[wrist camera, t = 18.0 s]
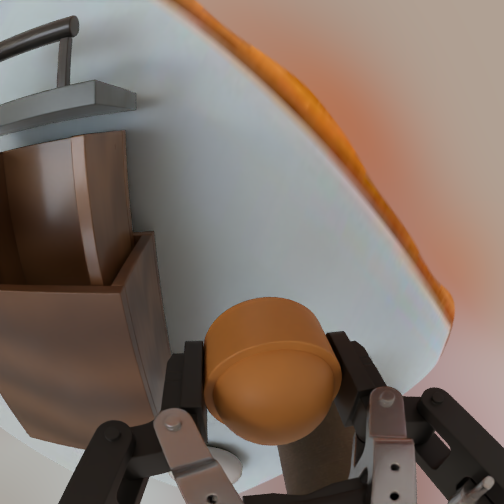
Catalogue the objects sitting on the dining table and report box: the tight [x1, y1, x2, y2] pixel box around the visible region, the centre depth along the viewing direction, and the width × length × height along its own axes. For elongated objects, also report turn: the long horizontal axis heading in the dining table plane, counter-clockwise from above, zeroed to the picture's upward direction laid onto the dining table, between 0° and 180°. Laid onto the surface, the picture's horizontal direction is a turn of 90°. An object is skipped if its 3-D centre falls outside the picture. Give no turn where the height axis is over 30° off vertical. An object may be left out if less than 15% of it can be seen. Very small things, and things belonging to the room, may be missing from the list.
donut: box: [168, 446, 242, 484], centre depth 33 cm, size 10×4×10 cm
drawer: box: [0, 16, 136, 286], centre depth 16 cm, size 19×12×7 cm, turn 179°
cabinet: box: [0, 231, 172, 450], centre depth 21 cm, size 16×14×9 cm
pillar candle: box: [277, 400, 355, 495], centre depth 25 cm, size 10×10×15 cm
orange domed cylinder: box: [203, 297, 342, 445], centre depth 11 cm, size 5×5×5 cm
